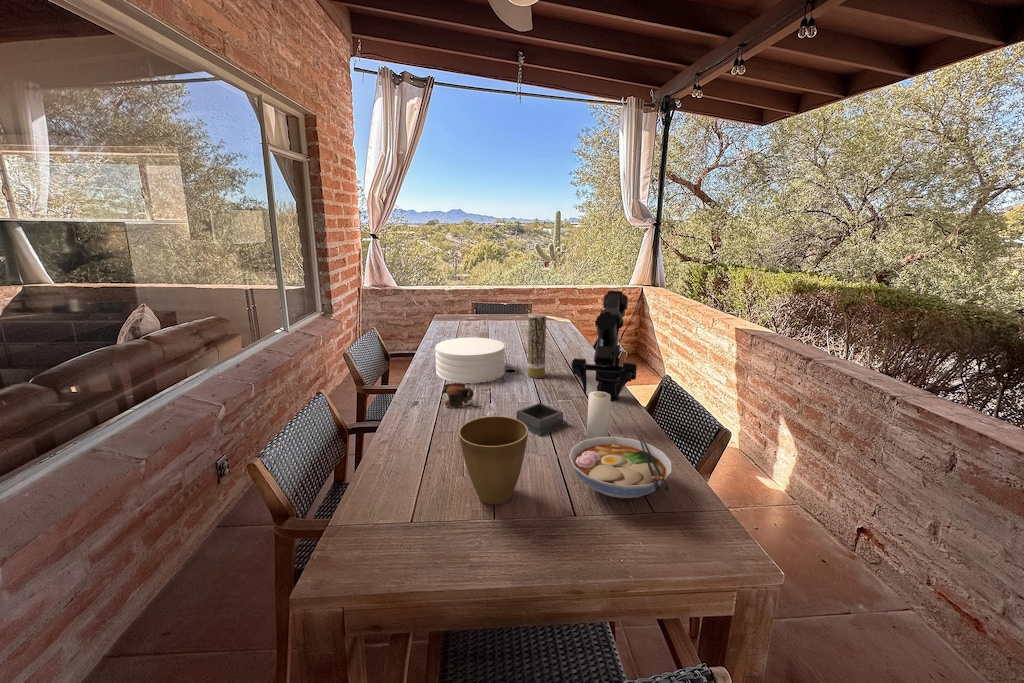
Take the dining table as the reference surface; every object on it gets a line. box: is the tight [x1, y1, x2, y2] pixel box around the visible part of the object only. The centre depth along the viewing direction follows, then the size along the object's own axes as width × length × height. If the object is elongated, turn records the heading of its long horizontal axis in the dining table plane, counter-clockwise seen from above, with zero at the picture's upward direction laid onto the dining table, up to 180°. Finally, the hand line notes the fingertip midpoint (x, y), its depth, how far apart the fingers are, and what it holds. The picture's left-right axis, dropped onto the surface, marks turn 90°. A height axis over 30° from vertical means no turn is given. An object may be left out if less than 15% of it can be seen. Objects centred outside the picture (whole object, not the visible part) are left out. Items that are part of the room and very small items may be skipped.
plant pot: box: [458, 415, 529, 505], centre depth 100 cm, size 15×15×16 cm
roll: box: [586, 390, 611, 440], centre depth 128 cm, size 6×6×13 cm
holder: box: [516, 402, 569, 437], centre depth 138 cm, size 12×12×4 cm
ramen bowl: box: [568, 434, 673, 499], centre depth 104 cm, size 25×23×8 cm
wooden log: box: [527, 312, 547, 379], centre depth 180 cm, size 7×7×25 cm
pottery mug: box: [441, 382, 474, 408], centre depth 155 cm, size 12×10×8 cm
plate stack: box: [434, 337, 506, 384], centre depth 187 cm, size 28×28×12 cm
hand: (600, 394), depth 131 cm, fingers open, 9 cm apart
